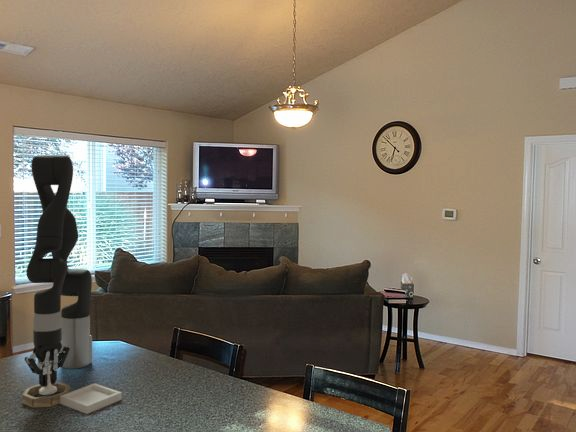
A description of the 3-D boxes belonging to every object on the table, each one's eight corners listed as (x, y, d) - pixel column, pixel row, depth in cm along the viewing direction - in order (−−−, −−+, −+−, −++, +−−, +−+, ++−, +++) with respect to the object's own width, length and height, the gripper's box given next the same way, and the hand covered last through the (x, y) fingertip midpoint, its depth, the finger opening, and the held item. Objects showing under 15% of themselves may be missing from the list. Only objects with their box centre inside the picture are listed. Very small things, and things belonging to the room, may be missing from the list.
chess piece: (50, 395, 154) (50, 361, 153) (35, 393, 155) (34, 360, 154) (60, 389, 158) (60, 356, 158) (45, 387, 159) (45, 354, 159)
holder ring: (52, 387, 164) (52, 379, 164) (77, 396, 158) (77, 388, 158) (15, 400, 154) (15, 392, 154) (40, 410, 148) (40, 401, 148)
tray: (94, 390, 163) (94, 383, 163) (121, 399, 157) (121, 392, 157) (59, 403, 153) (59, 396, 153) (87, 414, 147) (87, 406, 147)
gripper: (60, 319, 163) (60, 374, 164) (17, 329, 151) (17, 389, 152) (76, 323, 159) (76, 380, 160) (33, 334, 147) (33, 395, 148)
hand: (47, 384), depth 156 cm, fingers closed on chess piece
